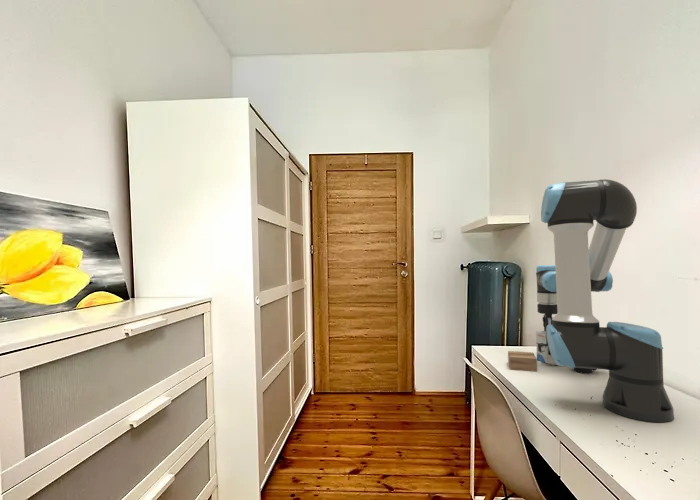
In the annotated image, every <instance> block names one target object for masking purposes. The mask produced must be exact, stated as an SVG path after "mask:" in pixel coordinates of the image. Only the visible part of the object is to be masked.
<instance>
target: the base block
mask: <svg viewBox="0 0 700 500" xmlns="http://www.w3.org/2000/svg"><path fill="white" fill-rule="evenodd" d="M507 354H508V355H507V356H508V357H507V358H508V359H507V360H508V367H509V369H510V370H511V371H522V372H523V371H524V372H534V373H535V372H536V373H538V365H537V364H538V362H537V361H538V360H537V356H536V355H535V353H534V352H528V351H514V350H508V351H507Z"/></svg>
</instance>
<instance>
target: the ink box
mask: <svg viewBox="0 0 700 500" xmlns="http://www.w3.org/2000/svg"><path fill="white" fill-rule="evenodd" d="M535 336H536V338H535V339H536V341H535V342H536V344H535V345H536V359H537V361H539V362H543V363H546V364H548V365H552V366H559V365H558V364H556V363H555V364H554V363H547V360H546V346H544V344H546V331H544V330H540V331H536V332H535Z"/></svg>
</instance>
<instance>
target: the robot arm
mask: <svg viewBox="0 0 700 500" xmlns="http://www.w3.org/2000/svg"><path fill="white" fill-rule="evenodd" d="M637 208H638V207H637V201H636V199H635V196H634V195H633V193H632V192H631V191H630V189H629V188H628V187H627V186H626V185H624V184H622V183H621V182H618V181H616V180H614V179H613V180H612V179H606V178H605V179H599V180H598V179H597V180H584V181H583V180H580V181H579V180H578V181H563V182H560V183H552V184H549V185H548V186H547V187H546V188H545V190H544V192H543V196H542V201H541V209H540V218H541V219H540V220H541V222H542V223H544V224H546V223H547V230H549V231H550V232H551V233H552V234H553V246H554V264H553V265H550V264H548V265H546V264H543V265H542V264H541V265H537V266H536V270H535V271H536V272H535V276H536V302H537V313H539V314H543V316H542V325H543V331H546V344H544V346H546V360H547V363H546V364H548V363H554V364H555V363H556V364H558V365H557V366H560V367H566V368H567V367H568V368H571V369H574V368H575V367H576V368H589V369H597V370H603V371H604V370H607V371H608V380H607V382H606V385H605V388H604V390H603V393H602V405H603V407H604V408H606V409H607V410H608V411H611V412H612V413H615V414H617V415H620V416H622V417H626V418H630V419H634V420H638V421H644V422H651V423H652V422H653V423H666V422H670V421H673V420H674V418H675V415H674V411H675V409H674V407H673V405H672V403H671V401H670V398H669V395H668V393H667V390H666V388H665V385H664V359H663V358H664V357H663V356H664V353H663V349H664V347H663V342H662V336H661V334H660V332H659V331H657V329H653V328H650V327H647V326H643V325H638V324H633V323H627V322H620V321H608V322H607V324H606V326H605V327H604V326H601V325H600V320H599V319H597V317H595V316H594V314H593V302H592V301H593V299H592V292H593V293H596V292H597V293H600V292H609V291H610V290H612V289H613V283H614V280H613V275H612V273H611V272H610V269H611V266H612V264H613V262H614V260H615V257H616V254H617V252H618V250H619V248H620V245H621V243H622V240H623V237H624V235H625V232H626V230H627V229H629V228H630V227H632V226H633V223H634V222H635V220H636V217H637V211H638V209H637ZM594 221H595V222H596V225H595V228H594V232H593V235H592V238H591V241H590V244H589V235H588V234H589V231H590V230H591V229H592V228H593V227H594ZM553 315H554V316H553Z"/></svg>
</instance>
